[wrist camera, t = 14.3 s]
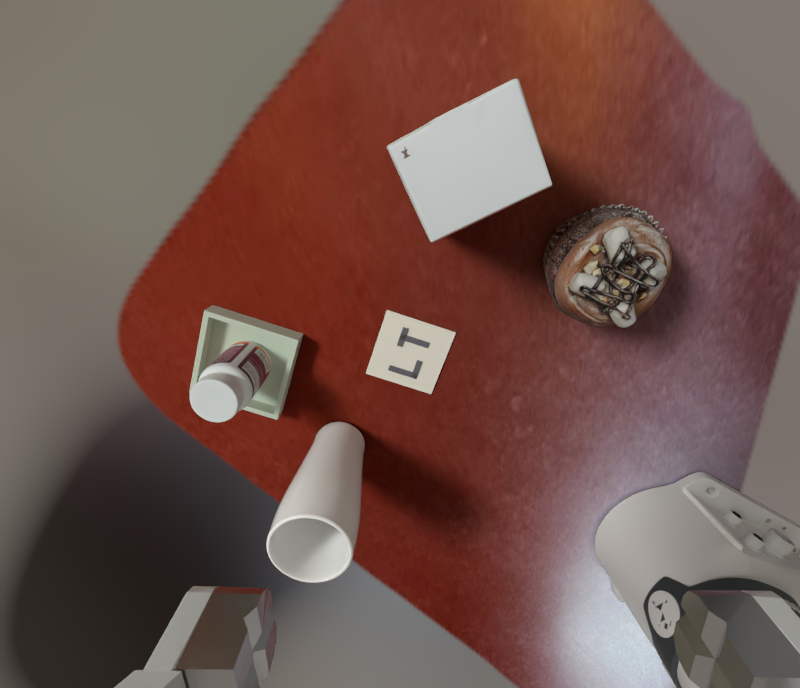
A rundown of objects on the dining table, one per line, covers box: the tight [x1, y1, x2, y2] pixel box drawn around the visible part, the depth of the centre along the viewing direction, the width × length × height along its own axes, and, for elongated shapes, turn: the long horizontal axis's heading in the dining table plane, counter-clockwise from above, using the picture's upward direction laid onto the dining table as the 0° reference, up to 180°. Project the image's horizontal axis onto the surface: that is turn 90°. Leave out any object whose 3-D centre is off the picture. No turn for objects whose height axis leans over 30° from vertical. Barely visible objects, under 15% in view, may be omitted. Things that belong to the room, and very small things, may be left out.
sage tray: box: [189, 305, 303, 420], centre depth 43 cm, size 9×9×2 cm
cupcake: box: [543, 204, 673, 328], centre depth 35 cm, size 10×10×10 cm
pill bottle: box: [190, 341, 272, 422], centre depth 40 cm, size 5×5×8 cm
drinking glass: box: [266, 422, 365, 583], centre depth 40 cm, size 7×7×15 cm
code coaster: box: [366, 310, 456, 394], centre depth 43 cm, size 7×7×1 cm
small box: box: [387, 79, 552, 243], centre depth 32 cm, size 8×6×13 cm
